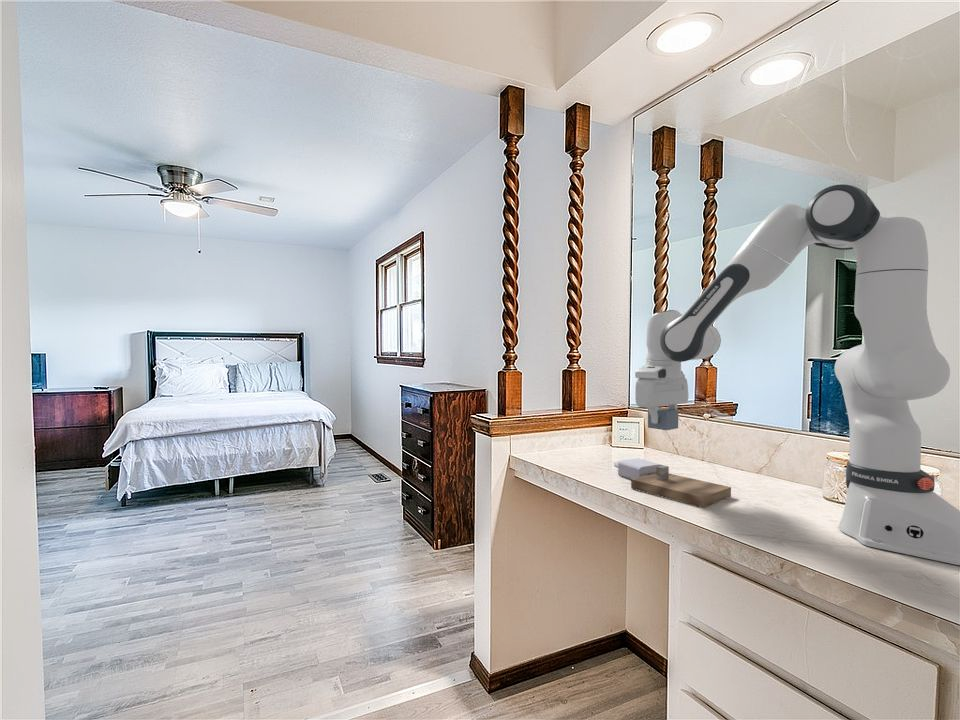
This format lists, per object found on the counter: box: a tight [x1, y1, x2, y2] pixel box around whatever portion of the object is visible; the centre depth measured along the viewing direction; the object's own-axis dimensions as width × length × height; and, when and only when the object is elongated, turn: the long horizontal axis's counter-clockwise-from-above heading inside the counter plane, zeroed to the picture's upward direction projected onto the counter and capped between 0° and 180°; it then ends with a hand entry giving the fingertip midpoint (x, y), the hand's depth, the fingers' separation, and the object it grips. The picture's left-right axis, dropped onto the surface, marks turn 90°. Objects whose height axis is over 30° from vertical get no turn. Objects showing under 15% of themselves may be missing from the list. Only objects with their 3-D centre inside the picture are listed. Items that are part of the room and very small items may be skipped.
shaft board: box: [630, 464, 732, 508], centre depth 127 cm, size 20×14×6 cm
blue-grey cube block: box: [647, 407, 679, 431], centre depth 131 cm, size 6×6×5 cm
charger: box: [613, 457, 663, 480], centre depth 145 cm, size 5×9×15 cm
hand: (663, 422), depth 131 cm, fingers closed on blue-grey cube block, 6 cm apart
